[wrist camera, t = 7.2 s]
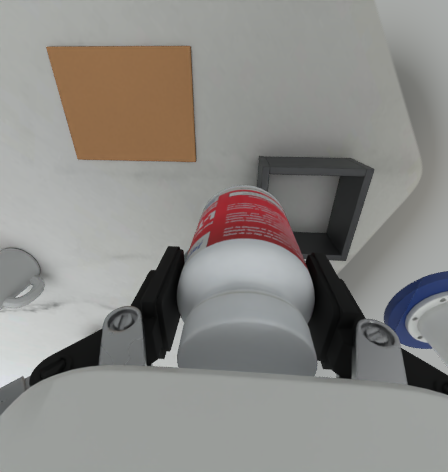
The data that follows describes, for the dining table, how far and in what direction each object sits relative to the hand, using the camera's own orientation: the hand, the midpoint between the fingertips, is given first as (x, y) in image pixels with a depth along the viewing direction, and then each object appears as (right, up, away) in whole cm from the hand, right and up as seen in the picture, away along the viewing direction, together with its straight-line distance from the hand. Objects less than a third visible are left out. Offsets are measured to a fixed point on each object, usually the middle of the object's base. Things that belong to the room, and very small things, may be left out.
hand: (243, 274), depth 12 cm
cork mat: (-13, +17, +16) cm, 27 cm away
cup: (-36, -4, +30) cm, 47 cm away
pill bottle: (0, +3, +5) cm, 6 cm away
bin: (+9, +7, +21) cm, 24 cm away
